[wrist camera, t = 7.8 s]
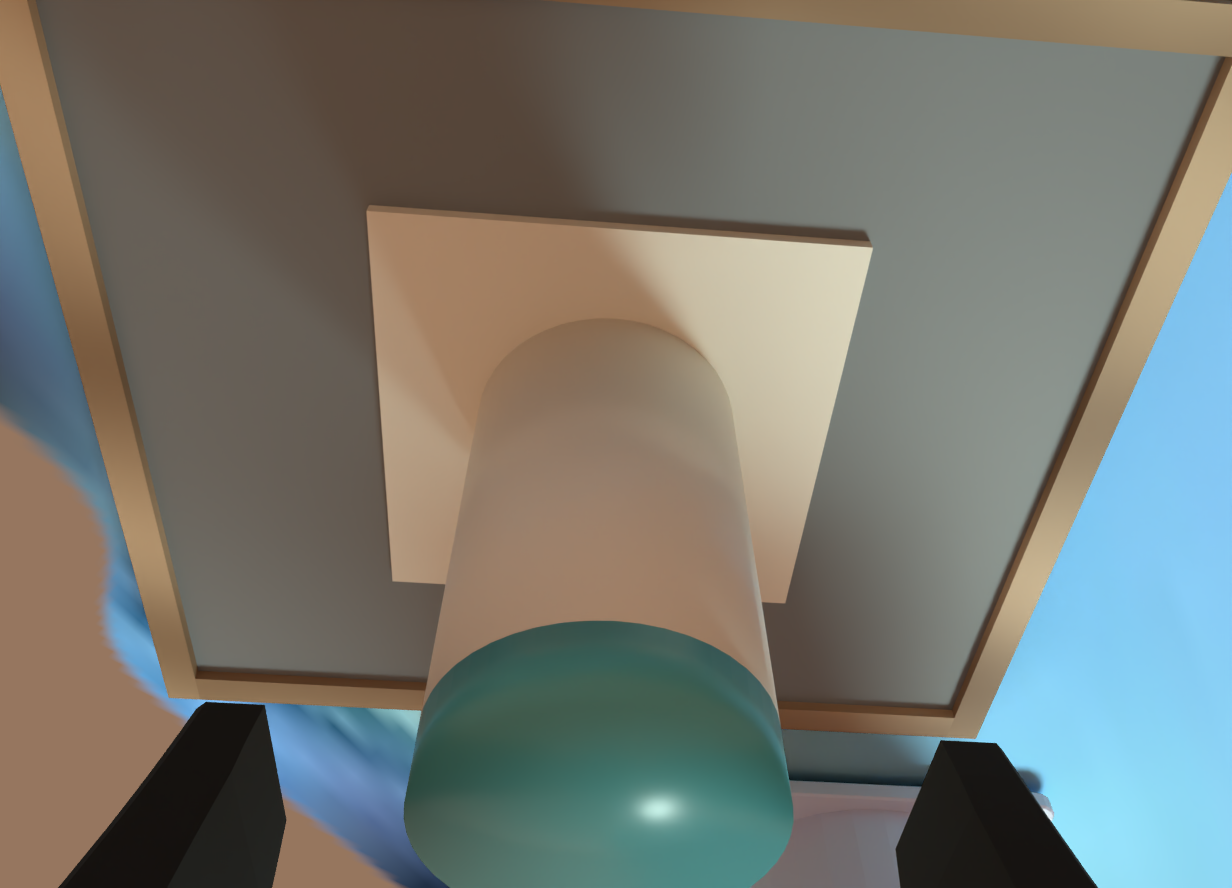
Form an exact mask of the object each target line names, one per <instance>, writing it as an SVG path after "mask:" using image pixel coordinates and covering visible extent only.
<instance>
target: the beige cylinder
mask: <svg viewBox="0 0 1232 888" xmlns="http://www.w3.org/2000/svg"><path fill="white" fill-rule="evenodd" d="M404 822H405V828H406V833H407V835H408V838H409V840H410V843H411V845H412V847H413V849H414V850H415V852H416V854H417V855H418V857H419V858H420V860H421V861H422V862H423V863H424V864H425V865H426V867H427V868H428V869H429V870H430V871H431V872H432V873H433V874H434V875H435V876H436V877H438V878H439V879H440V880H441V881H442V882H444V883H445V884H446V885H447V886H449V887H451V888H750V887H751V886H753V885H754V884H755V883H756V882H758V881H759V880H760V879H761V878H762V877H764V876H765V875H766V874H767V873H768V871H769V870H770V869H771V868H772V867H773V866H774V865H775V864H776V863H777V861H778V860H779V858H780V857H781V855H782V854H783V852H784V851H785V848H786V846H787V844H788V841H789V839H790V837H791V832H792V827H793V822H794V819H793V802H792V796H791V789H790V783H789V776H788V770H787V763H786V757H785V751H784V744H783V738H782V731H781V725H780V718H779V712H778V705H777V699H776V692H775V686H774V680H773V673H772V667H771V660H770V654H769V647H768V641H767V634H766V628H765V621H764V615H763V609H762V602H761V596H760V589H759V583H758V576H757V570H756V563H755V557H754V550H753V544H752V537H751V531H750V525H749V518H748V512H747V505H746V499H745V492H744V486H743V479H742V473H741V466H740V460H739V454H738V447H737V441H736V434H735V428H734V421H733V415H732V409H731V405H730V400H729V396H728V394H727V391H726V389H725V386H724V384H723V382H722V380H721V379H720V377H719V375H718V374H717V372H716V371H715V369H714V368H713V367H712V366H711V364H710V363H709V362H708V361H707V360H706V359H705V358H704V357H703V356H702V355H701V354H700V353H699V352H698V351H697V350H696V349H695V348H693V347H692V346H690V345H689V344H687V343H686V342H685V341H683V340H682V339H680V338H678V337H676V336H674V335H672V334H670V333H669V332H667V331H664V330H662V329H659V328H656V327H654V326H651V325H647V324H643V323H639V322H635V321H630V320H622V319H600V318H597V319H587V320H579V321H574V322H570V323H565V324H561V325H558V326H555V327H553V328H550V329H547V330H545V331H543V332H541V333H539V334H537V335H535V336H533V337H531V338H529V339H528V340H526V341H525V342H523V343H522V344H520V345H519V346H517V347H516V348H515V349H514V350H513V351H511V352H510V353H509V354H508V355H507V356H506V357H505V358H504V359H503V360H502V361H501V363H500V364H499V365H498V366H497V367H496V369H495V370H494V372H493V373H492V375H491V377H490V378H489V380H488V381H487V384H486V386H485V389H484V391H483V393H482V397H481V401H480V405H479V409H478V415H477V420H476V425H475V431H474V436H473V441H472V446H471V452H470V457H469V462H468V468H467V473H466V478H465V484H464V489H463V494H462V500H461V505H460V510H459V515H458V521H457V526H456V531H455V537H454V542H453V547H452V553H451V558H450V563H449V569H448V574H447V579H446V584H445V590H444V595H443V600H442V606H441V611H440V616H439V622H438V627H437V632H436V638H435V643H434V648H433V653H432V659H431V664H430V669H429V675H428V680H427V685H426V691H425V696H424V701H423V707H422V712H421V717H420V722H419V728H418V733H417V738H416V744H415V749H414V754H413V760H412V765H411V770H410V776H409V781H408V786H407V791H406V797H405V802H404Z"/></svg>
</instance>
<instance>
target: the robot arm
mask: <svg viewBox="0 0 1232 888" xmlns="http://www.w3.org/2000/svg"><path fill="white" fill-rule="evenodd" d="M789 783H790V789H791V796H792V802H793V819H794V822H793V827H792V832H791V837H790V839H789V841H788V844H787V846H786V848H785V851H784V852H783V854H782V855H781V857H780V858H779V860H778V861H777V863H776V864H775V865H774V866H773V867H772V868H771V869H770V870H769V871H768V873H767V874H766V875H765V876H764V877H762V878H761V879H760V880H759V881H758V882H756V883H755V884H754V885H753V886H751V887H750V888H1098V887H1097V886H1096V884H1095V883H1094V882H1093V880H1092V879H1091V877H1090V876H1089V875H1088V873H1087V872H1086V870H1085V869H1084V868H1083V866H1082V865H1081V863H1080V862H1079V860H1078V859H1077V858H1076V856H1075V855H1074V853H1073V852H1072V851H1071V849H1070V848H1069V846H1068V845H1067V843H1066V842H1065V841H1064V839H1063V838H1062V836H1061V835H1060V834H1059V832H1058V831H1057V829H1056V828H1055V826H1054V825H1053V823H1052V822H1051V821H1052V819H1053V817H1054V812H1053V809H1052V806H1051V804H1050V801H1049V799H1048V797H1046V796H1044V795H1043V794H1040V793H1034V792H1031V791H1030V790H1029V788H1028V787H1027V786H1026V784H1025V783H1024V781H1023V780H1022V778H1021V777H1020V775H1019V774H1018V772H1017V771H1016V769H1015V768H1014V766H1013V765H1012V764H1011V762H1010V761H1009V759H1008V758H1007V756H1006V755H1005V753H1004V752H1003V751H1002V749H1001V748H1000V747H999V746H998V745H997V744H996V743H981V742H962V741H943V740H941V741H940V743H939V746H938V748H937V750H936V753H935V755H934V758H933V760H932V762H931V765H930V767H929V770H928V772H927V774H926V777H925V779H924V782H923V784H922V786H921V787H915V786H894V785H874V784H853V783H833V782H812V781H791V780H789ZM285 824H286V816H285V810H284V805H283V800H282V794H281V789H280V784H279V779H278V773H277V768H276V763H275V757H274V752H273V747H272V742H271V736H270V731H269V726H268V720H267V715H266V710H265V705H254V704H235V703H216V702H205V703H204V704H202V705H201V706H200V707H198V708H197V709H196V710H195V712H194V713H193V714H192V716H191V717H190V719H189V720H188V721H187V723H186V724H185V726H184V727H183V728H182V730H181V731H180V733H179V734H178V735H177V737H176V738H175V739H174V741H173V742H172V744H171V745H170V746H169V748H168V749H167V750H166V752H165V753H164V755H163V756H162V757H161V759H160V760H159V761H158V763H157V764H156V765H155V767H154V768H153V769H152V771H151V772H150V773H149V775H148V776H147V777H146V779H145V780H144V781H143V783H142V784H141V785H140V787H139V788H138V789H137V791H136V792H135V793H134V794H133V796H132V797H131V798H130V799H129V801H128V802H127V803H126V805H125V806H124V807H123V808H122V810H121V811H120V812H119V814H118V815H117V816H116V817H115V819H114V820H113V821H112V823H111V824H110V825H109V826H108V828H107V829H106V830H105V831H104V833H103V834H102V835H101V836H100V837H99V839H98V840H97V841H96V842H95V844H94V845H93V846H92V847H91V848H90V850H89V851H88V852H87V853H86V855H85V856H84V857H83V858H82V859H81V861H80V862H79V863H78V864H77V866H76V867H75V868H74V869H73V870H72V872H71V873H70V874H69V875H68V877H67V878H66V879H65V880H64V881H63V883H62V884H61V885H60V886H59V887H58V888H272V885H273V881H274V876H275V872H276V867H277V862H278V858H279V853H280V848H281V843H282V839H283V834H284V829H285Z"/></svg>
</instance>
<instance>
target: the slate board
mask: <svg viewBox="0 0 1232 888" xmlns="http://www.w3.org/2000/svg"><path fill="white" fill-rule="evenodd" d="M0 85H1V89H2V93H3V96H4V100H5V104H6V107H7V111H8V114H9V118H10V122H11V125H12V129H13V133H14V136H15V140H16V144H17V147H18V151H19V154H20V158H21V162H22V165H23V169H24V173H25V176H26V180H27V184H28V187H29V191H30V194H31V198H32V202H33V205H34V209H35V213H36V216H37V220H38V224H39V227H40V231H41V235H42V238H43V242H44V245H45V249H46V253H47V256H48V260H49V264H50V267H51V271H52V275H53V278H54V282H55V285H56V289H57V293H58V296H59V300H60V304H61V307H62V311H63V315H64V318H65V322H66V325H67V329H68V333H69V336H70V340H71V344H72V347H73V351H74V355H75V358H76V362H77V366H78V369H79V373H80V376H81V380H82V384H83V387H84V391H85V395H86V398H87V402H88V406H89V409H90V413H91V416H92V420H93V424H94V427H95V431H96V435H97V438H98V442H99V446H100V449H101V453H102V457H103V460H104V464H105V467H106V471H107V475H108V478H109V482H110V486H111V489H112V493H113V497H114V500H115V504H116V507H117V511H118V515H119V518H120V522H121V526H122V529H123V533H124V537H125V540H126V544H127V547H128V551H129V555H130V558H131V562H132V566H133V569H134V573H135V577H136V580H137V584H138V588H139V591H140V595H141V598H142V602H143V606H144V609H145V613H146V617H147V620H148V624H149V628H150V631H151V635H152V638H153V642H154V646H155V649H156V653H157V657H158V660H159V664H160V668H161V671H162V675H163V678H164V682H165V686H166V689H167V693H168V697H169V698H184V699H204V700H223V701H243V702H263V703H282V704H302V705H322V706H341V707H361V708H381V709H400V710H420V711H422V707H423V701H424V696H425V691H426V685H427V680H428V675H429V669H430V664H431V659H432V653H433V648H434V643H435V638H436V632H437V627H438V622H439V616H440V611H441V606H442V600H443V595H444V590H445V584H446V579H447V574H448V569H449V563H450V558H451V553H452V547H453V542H454V537H455V531H456V526H457V521H458V515H459V510H460V505H461V500H462V494H463V489H464V484H465V478H466V473H467V468H468V462H469V457H470V452H471V446H472V441H473V436H474V431H475V425H476V420H477V415H478V409H479V405H480V401H481V397H482V393H483V391H484V389H485V386H486V384H487V381H488V380H489V378H490V377H491V375H492V373H493V372H494V370H495V369H496V367H497V366H498V365H499V364H500V363H501V361H502V360H503V359H504V358H505V357H506V356H507V355H508V354H509V353H510V352H511V351H513V350H514V349H515V348H516V347H517V346H519V345H520V344H522V343H523V342H525V341H526V340H528V339H529V338H531V337H533V336H535V335H537V334H539V333H541V332H543V331H545V330H547V329H550V328H553V327H555V326H558V325H561V324H565V323H570V322H574V321H579V320H587V319H597V318H600V319H622V320H630V321H635V322H639V323H643V324H647V325H651V326H654V327H656V328H659V329H662V330H664V331H667V332H669V333H670V334H672V335H674V336H676V337H678V338H680V339H682V340H683V341H685V342H686V343H687V344H689V345H690V346H692V347H693V348H695V349H696V350H697V351H698V352H699V353H700V354H701V355H702V356H703V357H704V358H705V359H706V360H707V361H708V362H709V363H710V364H711V366H712V367H713V368H714V369H715V371H716V372H717V374H718V375H719V377H720V379H721V380H722V382H723V384H724V386H725V389H726V391H727V394H728V396H729V400H730V405H731V409H732V415H733V421H734V428H735V434H736V441H737V447H738V454H739V460H740V466H741V473H742V479H743V486H744V492H745V499H746V505H747V512H748V518H749V525H750V531H751V537H752V544H753V550H754V557H755V563H756V570H757V576H758V583H759V589H760V596H761V602H762V609H763V615H764V621H765V628H766V634H767V641H768V647H769V654H770V660H771V667H772V673H773V680H774V686H775V692H776V699H777V705H778V712H779V718H780V725H781V729H794V730H813V731H833V732H853V733H872V734H892V735H912V736H932V737H951V738H971V739H976V737H977V735H978V732H979V730H980V728H981V726H982V724H983V721H984V719H985V717H986V715H987V712H988V710H989V708H990V706H991V704H992V701H993V699H994V697H995V695H996V693H997V690H998V688H999V686H1000V684H1001V681H1002V679H1003V677H1004V675H1005V673H1006V670H1007V668H1008V666H1009V664H1010V662H1011V659H1012V657H1013V655H1014V653H1015V650H1016V648H1017V646H1018V644H1019V642H1020V639H1021V637H1022V635H1023V633H1024V631H1025V628H1026V626H1027V624H1028V622H1029V620H1030V617H1031V615H1032V613H1033V611H1034V608H1035V606H1036V604H1037V602H1038V600H1039V597H1040V595H1041V593H1042V591H1043V589H1044V586H1045V584H1046V582H1047V580H1048V577H1049V575H1050V573H1051V571H1052V569H1053V566H1054V564H1055V562H1056V560H1057V558H1058V555H1059V553H1060V551H1061V549H1062V547H1063V544H1064V542H1065V540H1066V538H1067V535H1068V533H1069V531H1070V529H1071V527H1072V524H1073V522H1074V520H1075V518H1076V516H1077V513H1078V511H1079V509H1080V507H1081V504H1082V502H1083V500H1084V498H1085V496H1086V493H1087V491H1088V489H1089V487H1090V485H1091V482H1092V480H1093V478H1094V476H1095V473H1096V471H1097V469H1098V467H1099V465H1100V462H1101V460H1102V458H1103V456H1104V454H1105V451H1106V449H1107V447H1108V445H1109V443H1110V440H1111V438H1112V436H1113V434H1114V431H1115V429H1116V427H1117V425H1118V423H1119V420H1120V418H1121V416H1122V414H1123V412H1124V409H1125V407H1126V405H1127V403H1128V400H1129V398H1130V396H1131V394H1132V392H1133V389H1134V387H1135V385H1136V383H1137V381H1138V378H1139V376H1140V374H1141V372H1142V370H1143V367H1144V365H1145V363H1146V361H1147V358H1148V356H1149V354H1150V352H1151V350H1152V347H1153V345H1154V343H1155V341H1156V339H1157V336H1158V334H1159V332H1160V330H1161V327H1162V325H1163V323H1164V321H1165V319H1166V316H1167V314H1168V312H1169V310H1170V308H1171V305H1172V303H1173V301H1174V299H1175V296H1176V294H1177V292H1178V290H1179V288H1180V285H1181V283H1182V281H1183V279H1184V277H1185V274H1186V272H1187V270H1188V268H1189V266H1190V263H1191V261H1192V259H1193V257H1194V254H1195V252H1196V250H1197V248H1198V246H1199V243H1200V241H1201V239H1202V237H1203V235H1204V232H1205V230H1206V228H1207V226H1208V223H1209V221H1210V219H1211V217H1212V215H1213V212H1214V210H1215V208H1216V206H1217V204H1218V201H1219V199H1220V197H1221V195H1222V192H1223V190H1224V188H1225V186H1226V184H1227V181H1228V179H1229V177H1230V175H1231V173H1232V0H0Z"/></svg>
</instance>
